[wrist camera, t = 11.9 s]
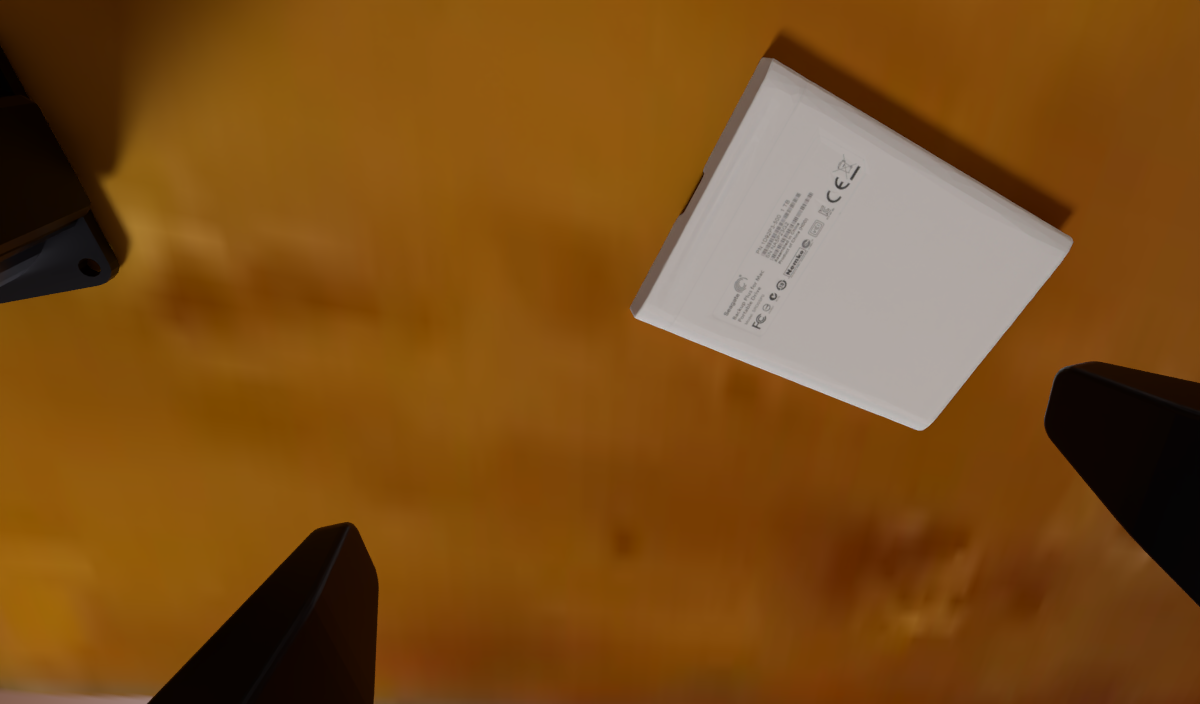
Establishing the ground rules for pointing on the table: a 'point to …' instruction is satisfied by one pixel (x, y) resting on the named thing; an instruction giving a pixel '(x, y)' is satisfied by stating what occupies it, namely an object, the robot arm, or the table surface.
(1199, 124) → the table surface
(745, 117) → the external hard drive
